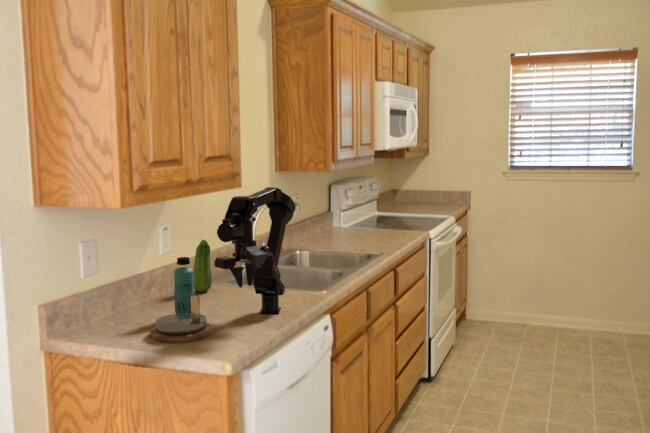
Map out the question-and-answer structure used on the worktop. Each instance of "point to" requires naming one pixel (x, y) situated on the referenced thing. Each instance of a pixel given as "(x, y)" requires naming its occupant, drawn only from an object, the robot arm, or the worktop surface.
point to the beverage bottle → (183, 286)
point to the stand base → (181, 336)
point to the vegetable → (202, 268)
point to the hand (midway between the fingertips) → (245, 286)
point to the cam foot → (183, 321)
